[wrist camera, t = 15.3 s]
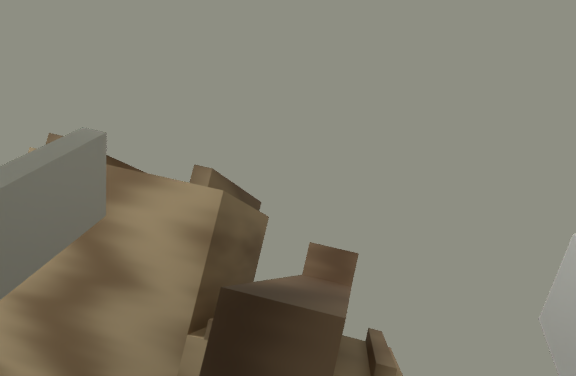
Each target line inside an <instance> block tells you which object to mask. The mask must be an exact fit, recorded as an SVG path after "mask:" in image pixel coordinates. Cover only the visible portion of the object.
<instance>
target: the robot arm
mask: <svg viewBox="0 0 576 376" xmlns="http://www.w3.org/2000/svg"><path fill="white" fill-rule="evenodd" d="M105 216H106V132H102V131H98V130H93V129H88V128H84V127H82V128H80V129H78V130H76V131H74V132H72V133H69V134H67V135H65V136H63V137H61V138H59V139H57V140H55V141H52V142H50V143H48V144H46V145H44V146H42V147H40V148H38V149H36V150H33V151H31V152H29V153H27V154H25V155H23V156H21V157H19V158H17V159H15V160H12V161H10V162H8V163H6V164H4V165H2V166H0V300H1V299H2V298H4V297H5V296H6V295H7V294H9V293H10V292H11V291H12V290H14V289H15V288H16V287H17V286H19V285H20V284H21V283H22V282H24V281H25V280H26V279H27V278H29V277H30V276H31V275H32V274H34V273H35V272H36V271H37V270H39V269H40V268H41V267H42V266H44V265H45V264H46V263H47V262H49V261H50V260H51V259H52V258H54V257H55V256H56V255H57V254H59V253H60V252H61V251H62V250H64V249H65V248H66V247H67V246H69V245H70V244H71V243H72V242H74V241H75V240H76V239H77V238H79V237H80V236H81V235H82V234H84V233H85V232H86V231H87V230H89V229H90V228H91V227H92V226H94V225H95V224H96V223H97V222H99V221H100V220H101V219H102V218H104V217H105ZM539 322H540V325H541V328H542V331H543V333H544V336H545V339H546V342H547V345H548V347H549V350H550V353H551V356H552V358H553V361H554V364H555V367H556V370H557V372H558V375H559V376H576V234H575V233H573V236H572V238H571V240H570V243H569V245H568V248H567V250H566V253H565V255H564V258H563V260H562V262H561V265H560V267H559V270H558V272H557V275H556V277H555V280H554V282H553V284H552V287H551V289H550V292H549V294H548V297H547V299H546V302H545V304H544V307H543V309H542V312H541V314H540V317H539Z"/></svg>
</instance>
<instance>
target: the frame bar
mask: <svg viewBox="0 0 576 376" xmlns="http://www.w3.org/2000/svg"><path fill="white" fill-rule="evenodd" d="M357 258H358V253H354V252H350V251H345V250H341V249H337V248H332V247H328V246H324V245H320V244H315V243H311V242H310V244H309V248H308V253H307V257H306V261H305V265H304V270H303V274H302V275H298V276H291V277H284V278H277V279H271V280H264V281H257V282H251V283H244V284H237V285H231V286H224V287H221V289H220V293H219V297H218V301H217V305H216V309H215V313H214V317H213V321H212V326H211V330H210V334H209V338H208V342H207V346H206V350H205V354H204V358H203V362H202V366H201V370H200V374H199V376H333V375H334V370H335V365H336V361H337V356H338V352H339V347H340V342H341V338H342V333H343V329H344V324H345V319H346V313H347V308H348V303H349V297H350V291H351V286H352V281H353V277H354V272H355V268H356V262H357Z"/></svg>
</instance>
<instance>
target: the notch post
mask: <svg viewBox="0 0 576 376" xmlns="http://www.w3.org/2000/svg"><path fill="white" fill-rule="evenodd" d="M61 137H63V136H60V135H55V134H51V133H49V135H48V138H47V142H46V144H48V143H50V142H52V141H55V140H57V139H59V138H61ZM33 150H36V149H35V148H31V147H30V148H29V152H31V151H33ZM29 152H28V153H29ZM260 205H261V202H260V201H259V200H257V199H256V198H254V197H253V196H251V195H250V194H249V193H247V192H245V191H244V190H243V189H241V188H240V187H238V186H237V185H235V184H234V183H233V182H231V181H230V180H228V179H227V178H225V177H224V176H222V175H221V174H220V173H218V172H217V171H215V170H214V169H212V168H207V167H203V166H199V165H194V168H193V172H192V175H191V179H190V183H188V182H183V181H179V180H174V179H170V178H165V177H161V176H156V175H152V174H147V173H145V172H143V171H141V170H139V169H136V168H134V167H132V166H130V165H127V164H125V163H123V162H121V161H119V160H116V159H114V158H112V157H109V156H107V155H106V216H105V217H104V218H102V219H101V220H100V221H99V222H97V223H96V224H95V225H94V226H92V227H91V228H90V229H89V230H87V231H86V232H85V233H84V234H82V235H81V236H80V237H79V238H77V239H76V240H75V241H74V242H72V243H71V244H70V245H69V246H67V247H66V248H65V249H64V250H62V251H61V252H60V253H59V254H57V255H56V256H55V257H54V258H52V259H51V260H50V261H49V262H47V263H46V264H45V265H44V266H42V267H41V268H40V269H39V270H37V271H36V272H35V273H34V274H32V275H31V276H30V277H29V278H27V279H26V280H25V281H24V282H22V283H21V284H20V285H19V286H17V287H16V288H15V289H14V290H12V291H11V292H10V293H9V294H7V295H6V296H5V297H4V298H2V299H1V300H0V376H199V374H200V370H201V366H202V362H203V358H204V354H205V350H206V346H207V342H208V338H209V334H210V330H211V326H212V321H213V317H214V313H215V309H216V305H217V301H218V297H219V293H220V289H221V287H224V286H231V285H237V284H244V283H251V282H253V281H254V277H255V272H256V268H257V264H258V260H259V256H260V252H261V248H262V243H263V239H264V235H265V231H266V226H267V223H268V218H269V217H268V216H266V215H265V214H263V213H261V212H260V211H259V209H260ZM333 376H403V375H402V373H401V371H400V368H399V366H398V364H397V362H396V359H395V357H394V355H393V352H392V350H391V348H390V347H388V346H387V343H386V341H385V339H384V336H383V334H382V332H381V331H378V330H374V329H370V328H368V332H367V337H366V341H362V340H358V339H354V338H351V337H347V336H343V335H342V338H341V342H340V347H339V352H338V356H337V361H336V365H335V370H334V375H333Z"/></svg>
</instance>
